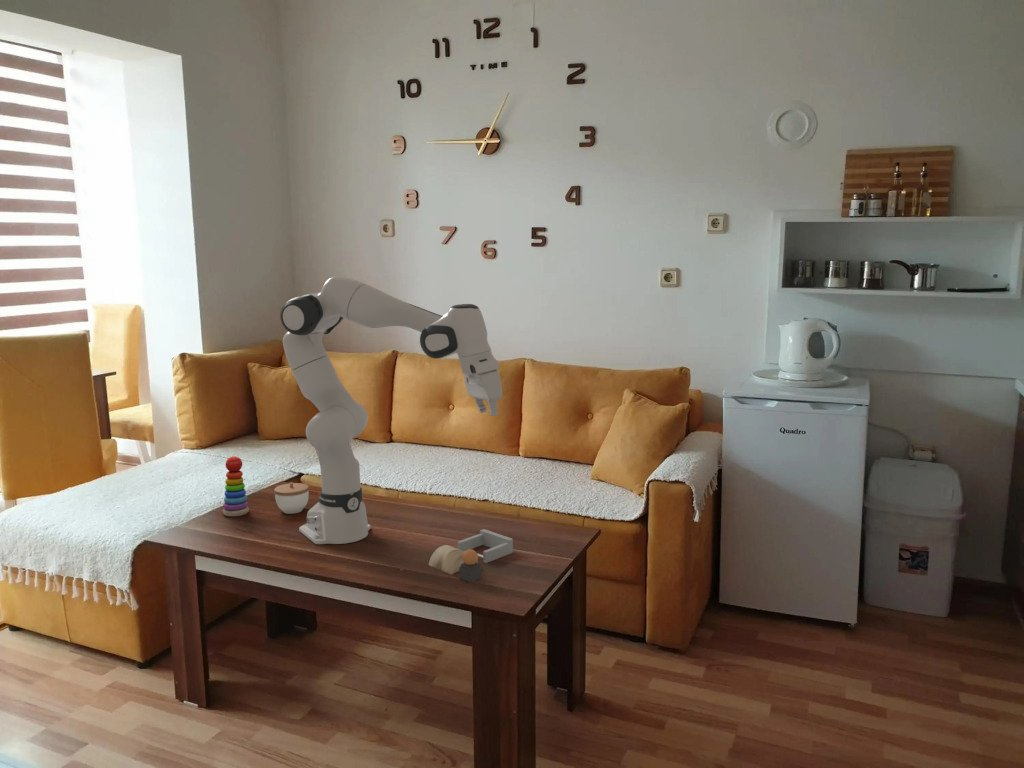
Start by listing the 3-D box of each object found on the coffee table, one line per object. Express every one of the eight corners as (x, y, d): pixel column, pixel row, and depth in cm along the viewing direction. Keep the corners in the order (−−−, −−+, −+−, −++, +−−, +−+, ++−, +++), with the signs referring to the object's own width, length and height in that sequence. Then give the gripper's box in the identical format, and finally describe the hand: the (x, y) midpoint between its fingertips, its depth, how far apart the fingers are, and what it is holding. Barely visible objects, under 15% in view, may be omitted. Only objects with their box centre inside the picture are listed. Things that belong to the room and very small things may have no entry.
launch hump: (428, 586, 212) (427, 550, 211) (456, 575, 219) (456, 540, 218) (451, 596, 206) (450, 559, 204) (479, 584, 213) (478, 549, 211)
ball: (459, 565, 202) (459, 550, 201) (470, 560, 205) (470, 545, 204) (469, 569, 199) (469, 554, 199) (481, 564, 202) (481, 549, 201)
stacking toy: (244, 517, 251) (240, 460, 248) (219, 517, 251) (215, 460, 248) (252, 509, 259) (248, 453, 256) (228, 509, 259) (224, 453, 256)
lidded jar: (281, 505, 263) (279, 478, 261) (313, 505, 263) (312, 478, 261) (271, 516, 252) (269, 487, 251) (305, 516, 252) (303, 487, 250)
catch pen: (457, 552, 220) (457, 538, 220) (484, 542, 227) (483, 528, 227) (486, 563, 212) (486, 548, 212) (512, 552, 219) (512, 538, 219)
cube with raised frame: (459, 578, 203) (459, 564, 202) (471, 573, 205) (470, 559, 205) (470, 582, 200) (469, 568, 199) (481, 577, 203) (481, 563, 202)
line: (465, 551, 221) (465, 550, 221) (468, 550, 221) (468, 549, 221) (488, 559, 215) (488, 559, 215) (490, 558, 215) (490, 558, 215)
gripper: (454, 365, 219) (466, 413, 221) (477, 368, 199) (489, 421, 201) (476, 359, 221) (487, 407, 223) (500, 362, 202) (512, 414, 204)
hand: (488, 413), depth 212 cm, fingers open, 8 cm apart
